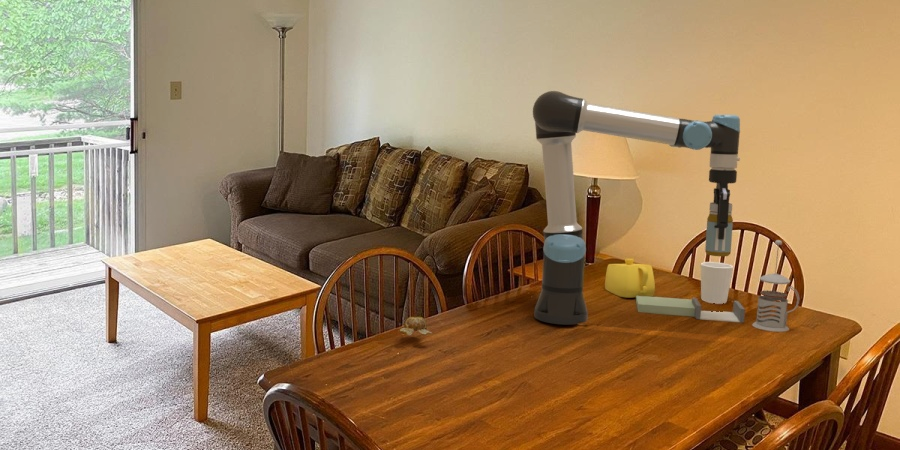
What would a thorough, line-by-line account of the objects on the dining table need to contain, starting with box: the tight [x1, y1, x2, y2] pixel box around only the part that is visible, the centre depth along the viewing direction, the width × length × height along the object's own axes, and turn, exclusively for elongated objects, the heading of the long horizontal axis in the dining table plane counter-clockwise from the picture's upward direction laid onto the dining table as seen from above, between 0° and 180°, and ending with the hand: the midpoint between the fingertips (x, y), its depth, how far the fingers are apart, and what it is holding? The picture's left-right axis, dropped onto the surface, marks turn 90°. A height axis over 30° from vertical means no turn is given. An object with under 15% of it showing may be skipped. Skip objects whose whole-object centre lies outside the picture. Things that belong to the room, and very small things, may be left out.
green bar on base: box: [635, 296, 746, 324], centre depth 237 cm, size 30×15×4 cm, turn 80°
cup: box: [700, 261, 734, 305], centre depth 249 cm, size 10×10×13 cm
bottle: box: [704, 201, 734, 257], centre depth 229 cm, size 7×7×15 cm
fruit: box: [399, 316, 433, 336], centre depth 204 cm, size 8×8×4 cm
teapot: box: [604, 258, 656, 299], centre depth 255 cm, size 20×12×12 cm, turn 22°
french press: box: [751, 239, 800, 333], centre depth 222 cm, size 10×12×25 cm
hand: (717, 248), depth 230 cm, fingers closed on bottle, 5 cm apart
